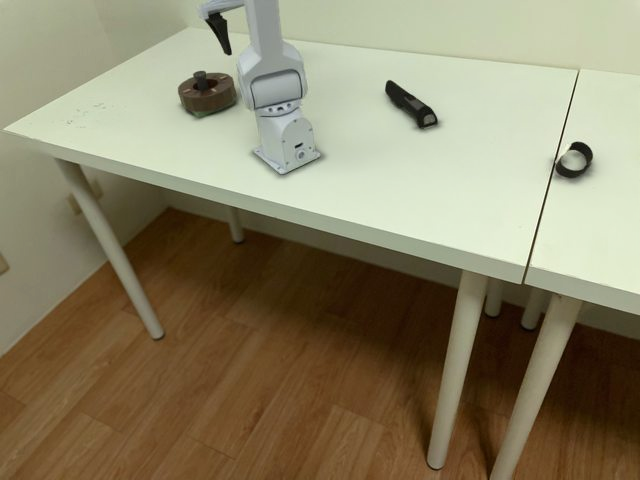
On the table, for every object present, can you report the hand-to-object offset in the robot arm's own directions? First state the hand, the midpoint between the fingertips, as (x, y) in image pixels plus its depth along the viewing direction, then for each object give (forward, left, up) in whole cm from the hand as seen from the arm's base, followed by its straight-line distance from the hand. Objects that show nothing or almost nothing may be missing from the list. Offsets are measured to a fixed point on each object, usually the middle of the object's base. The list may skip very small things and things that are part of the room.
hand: (245, 47), depth 90 cm
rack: (+5, +9, -10) cm, 14 cm away
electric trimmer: (-26, -18, -10) cm, 34 cm away
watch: (-56, -23, -10) cm, 62 cm away
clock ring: (+5, +8, -9) cm, 13 cm away
